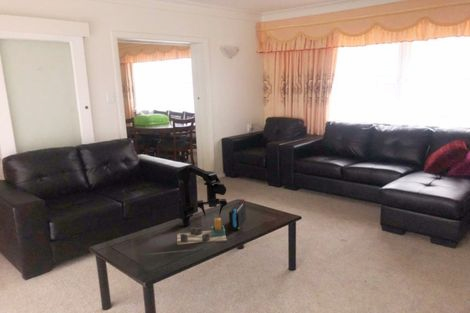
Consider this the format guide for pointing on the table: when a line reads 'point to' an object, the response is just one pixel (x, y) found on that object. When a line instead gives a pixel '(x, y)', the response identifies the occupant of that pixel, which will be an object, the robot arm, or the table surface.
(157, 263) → the table surface
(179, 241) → the board
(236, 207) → the game console
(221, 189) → the robot arm
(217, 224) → the plug block
